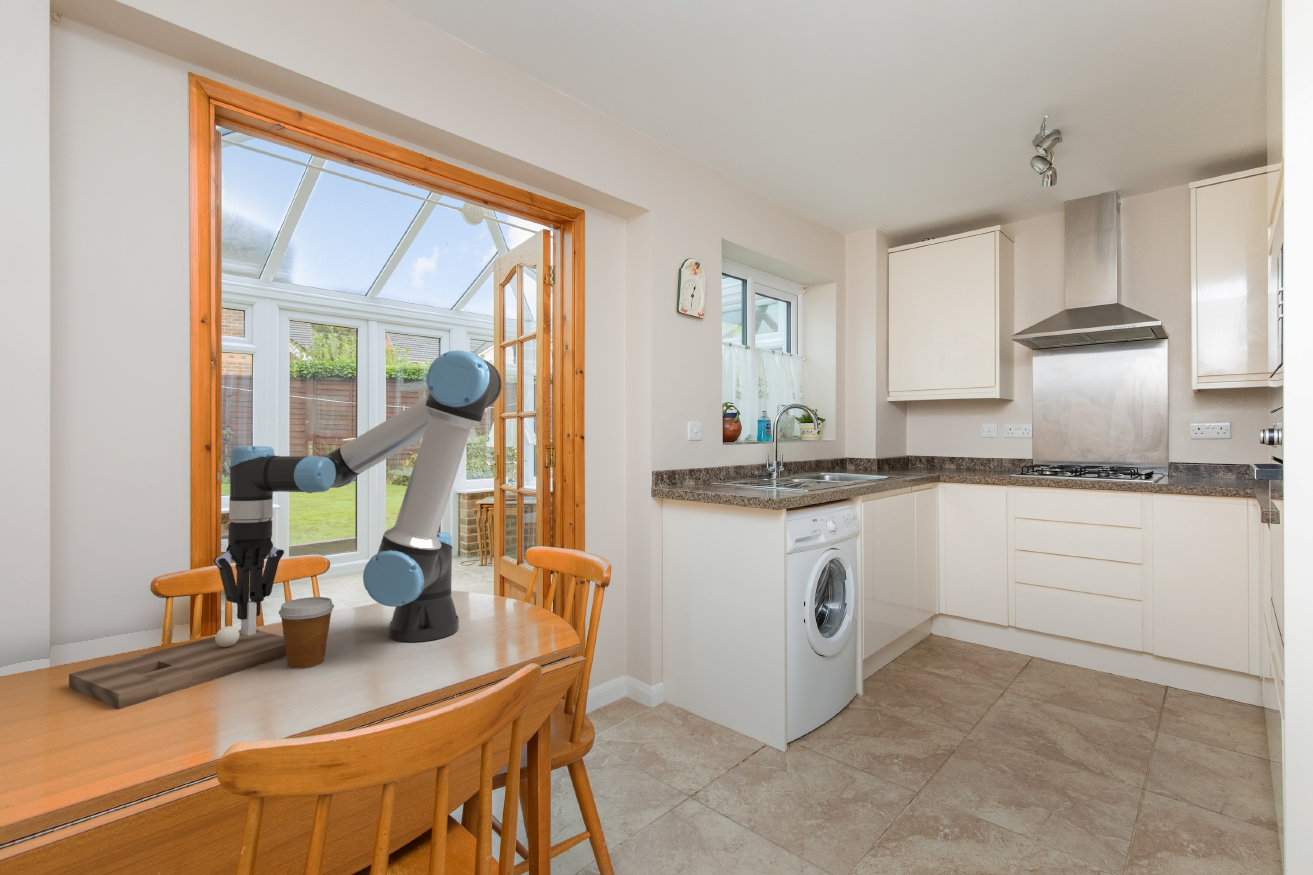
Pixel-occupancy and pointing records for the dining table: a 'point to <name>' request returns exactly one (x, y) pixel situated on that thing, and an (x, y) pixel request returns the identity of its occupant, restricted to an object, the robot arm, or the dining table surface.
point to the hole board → (174, 668)
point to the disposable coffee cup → (306, 630)
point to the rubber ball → (227, 636)
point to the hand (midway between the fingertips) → (248, 633)
